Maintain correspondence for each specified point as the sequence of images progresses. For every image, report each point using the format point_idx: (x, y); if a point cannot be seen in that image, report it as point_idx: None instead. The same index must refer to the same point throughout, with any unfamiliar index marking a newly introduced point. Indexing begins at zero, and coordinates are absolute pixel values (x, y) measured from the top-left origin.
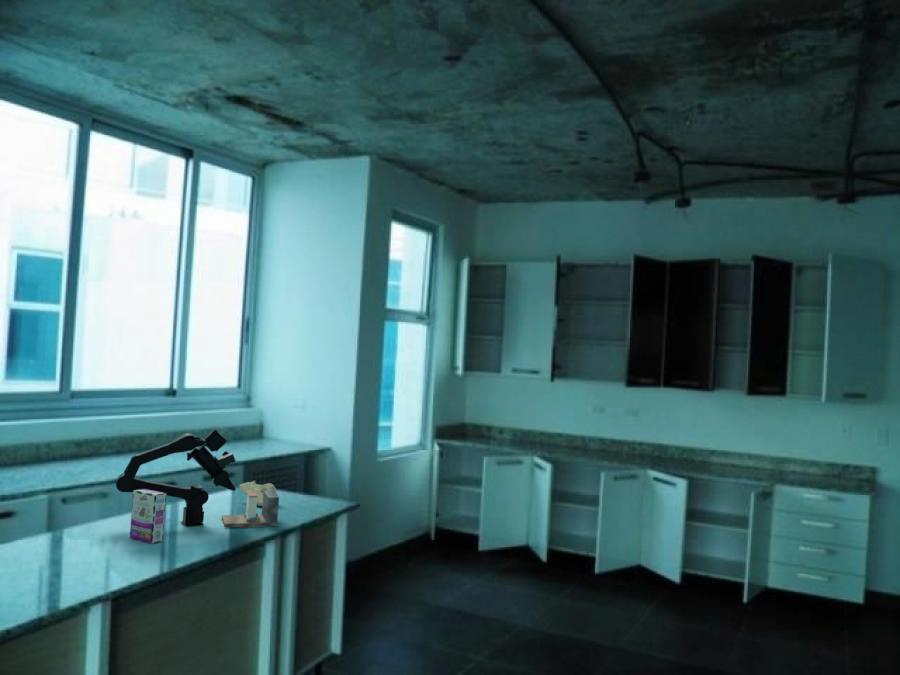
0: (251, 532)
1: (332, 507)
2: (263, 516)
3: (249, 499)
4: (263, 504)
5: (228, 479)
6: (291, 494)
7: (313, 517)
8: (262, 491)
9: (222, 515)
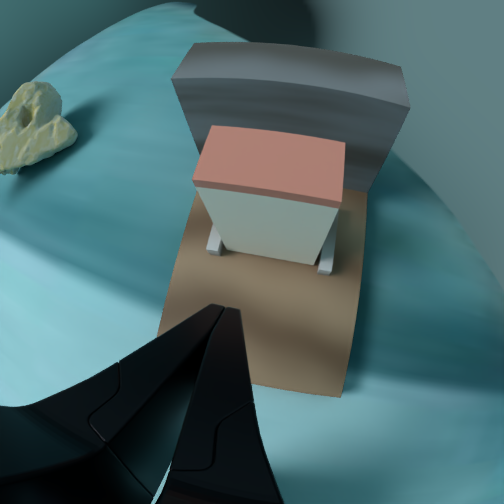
0: (437, 289)
1: (172, 18)
2: None
3: (335, 213)
4: None
5: (270, 501)
6: None
7: None
8: (21, 122)
9: None
